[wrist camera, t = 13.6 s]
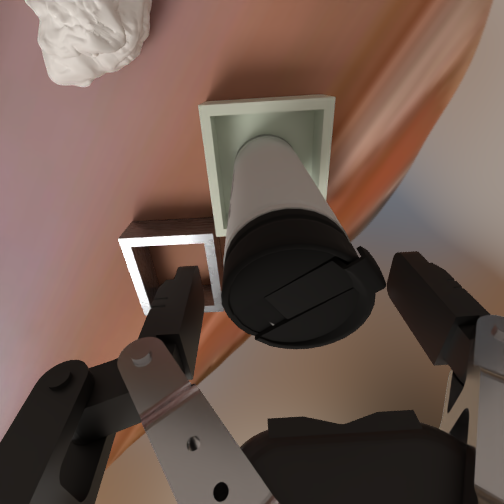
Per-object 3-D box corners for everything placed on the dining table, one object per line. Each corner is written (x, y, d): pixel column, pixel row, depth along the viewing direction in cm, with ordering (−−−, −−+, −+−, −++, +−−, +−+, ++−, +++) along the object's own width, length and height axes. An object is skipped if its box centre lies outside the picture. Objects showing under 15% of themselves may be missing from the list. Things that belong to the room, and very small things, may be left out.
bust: (100, 86, 27) (135, 154, 21) (-7, 30, 21) (7, 104, 15) (161, -55, 22) (227, -11, 17) (46, -181, 16) (90, -176, 11)
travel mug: (312, 169, 28) (414, 319, 11) (260, 208, 30) (279, 383, 13) (275, 115, 25) (337, 205, 8) (220, 162, 27) (183, 308, 11)
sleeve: (131, 221, 32) (118, 238, 28) (216, 217, 32) (212, 233, 28) (154, 293, 37) (144, 315, 34) (225, 289, 37) (223, 311, 34)
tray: (205, 101, 25) (198, 105, 22) (322, 94, 25) (335, 97, 22) (219, 217, 32) (216, 236, 28) (314, 212, 31) (323, 231, 28)
